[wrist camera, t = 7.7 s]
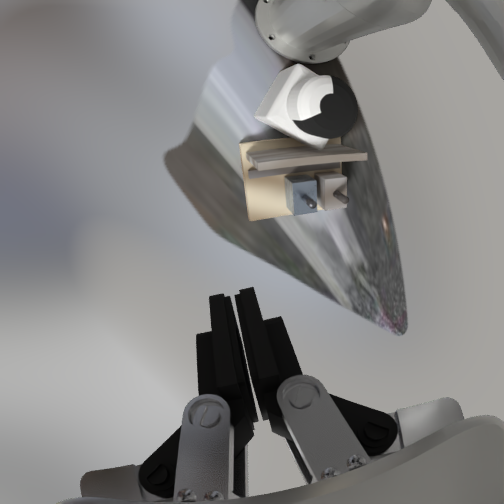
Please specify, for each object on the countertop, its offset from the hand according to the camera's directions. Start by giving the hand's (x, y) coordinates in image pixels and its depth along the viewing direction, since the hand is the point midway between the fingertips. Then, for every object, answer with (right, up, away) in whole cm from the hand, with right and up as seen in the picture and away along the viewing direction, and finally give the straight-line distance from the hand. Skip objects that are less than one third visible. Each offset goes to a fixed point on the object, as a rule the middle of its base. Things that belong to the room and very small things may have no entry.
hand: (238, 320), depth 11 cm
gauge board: (+6, +13, +25) cm, 28 cm away
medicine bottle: (+5, +21, +21) cm, 30 cm away
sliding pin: (+6, +10, +25) cm, 27 cm away
